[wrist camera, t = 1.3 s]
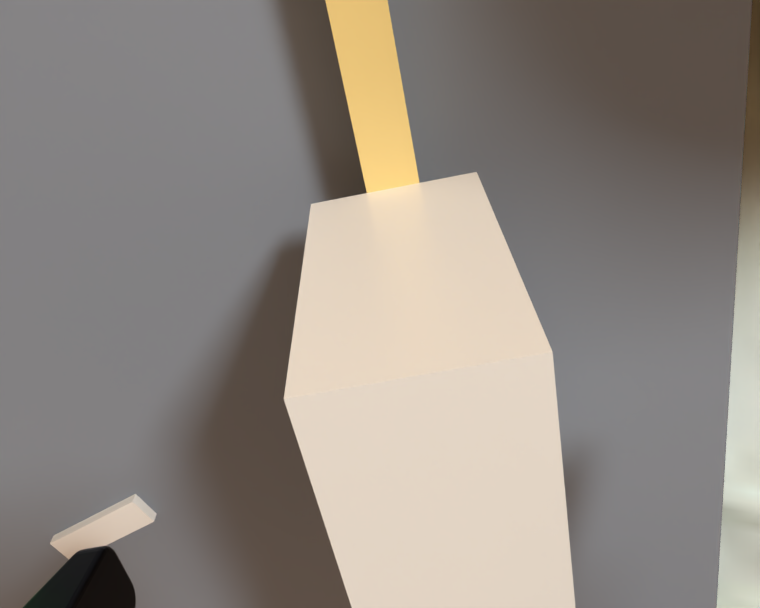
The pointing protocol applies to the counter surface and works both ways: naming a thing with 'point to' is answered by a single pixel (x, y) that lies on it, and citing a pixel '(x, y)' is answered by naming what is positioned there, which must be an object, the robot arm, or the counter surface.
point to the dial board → (285, 259)
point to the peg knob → (423, 373)
